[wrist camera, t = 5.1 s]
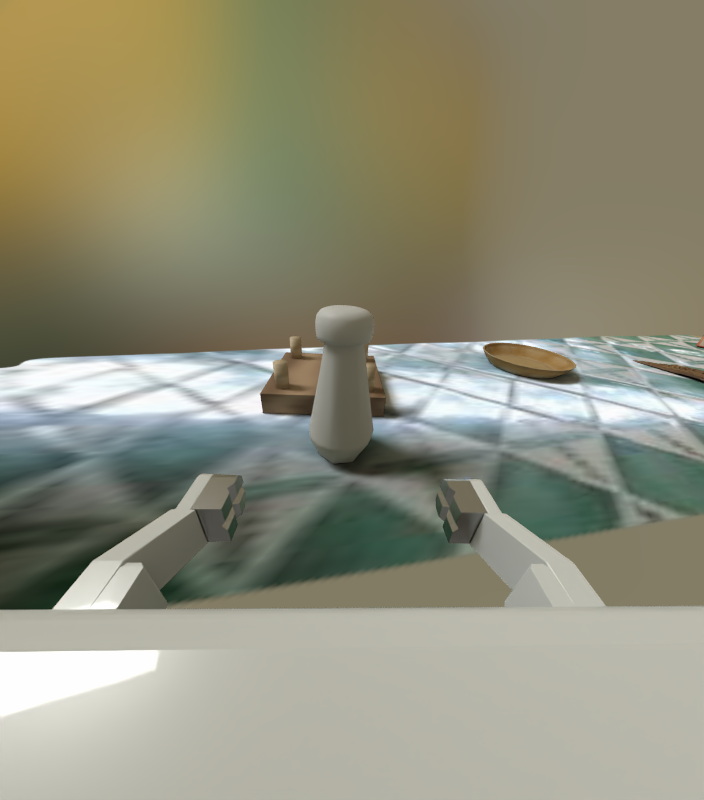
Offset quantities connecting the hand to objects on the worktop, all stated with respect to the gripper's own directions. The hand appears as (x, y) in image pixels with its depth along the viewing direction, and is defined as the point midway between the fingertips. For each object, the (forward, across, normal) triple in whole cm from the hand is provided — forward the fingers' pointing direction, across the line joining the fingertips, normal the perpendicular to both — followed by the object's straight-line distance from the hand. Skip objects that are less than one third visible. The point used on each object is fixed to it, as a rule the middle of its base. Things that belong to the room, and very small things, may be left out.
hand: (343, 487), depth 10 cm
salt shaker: (+12, 0, -8) cm, 14 cm away
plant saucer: (+37, +34, -8) cm, 51 cm away
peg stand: (+25, -2, -8) cm, 26 cm away
